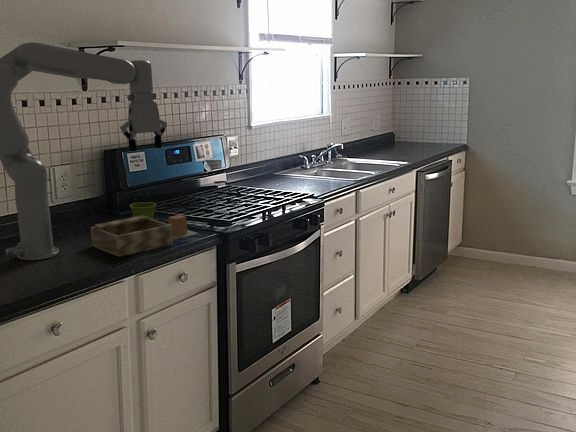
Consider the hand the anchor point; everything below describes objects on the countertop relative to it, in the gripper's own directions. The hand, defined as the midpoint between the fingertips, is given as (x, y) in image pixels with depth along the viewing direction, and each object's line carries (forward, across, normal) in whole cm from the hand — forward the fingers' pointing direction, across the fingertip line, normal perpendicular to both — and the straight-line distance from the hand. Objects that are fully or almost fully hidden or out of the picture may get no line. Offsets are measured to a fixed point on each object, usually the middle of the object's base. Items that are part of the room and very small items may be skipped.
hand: (145, 149), depth 222 cm
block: (+30, +7, -6) cm, 31 cm away
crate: (+30, -11, -6) cm, 33 cm away
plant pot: (+31, +4, +12) cm, 33 cm away
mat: (+30, +7, -6) cm, 32 cm away
